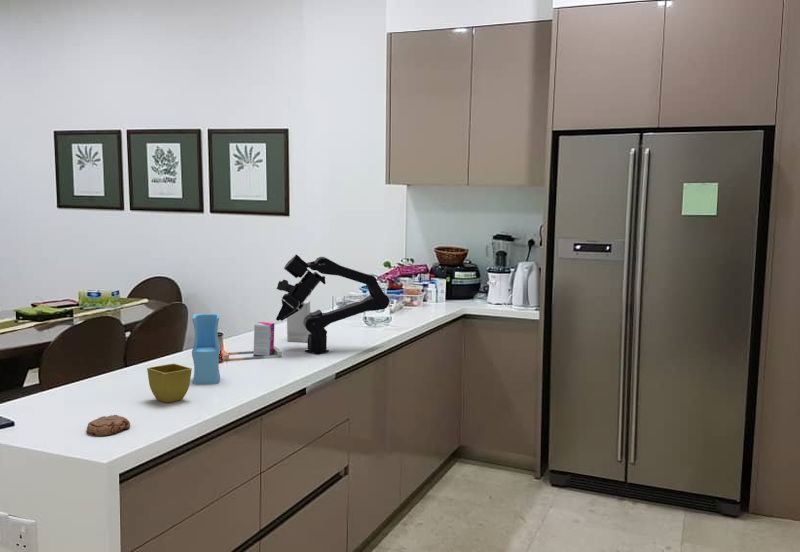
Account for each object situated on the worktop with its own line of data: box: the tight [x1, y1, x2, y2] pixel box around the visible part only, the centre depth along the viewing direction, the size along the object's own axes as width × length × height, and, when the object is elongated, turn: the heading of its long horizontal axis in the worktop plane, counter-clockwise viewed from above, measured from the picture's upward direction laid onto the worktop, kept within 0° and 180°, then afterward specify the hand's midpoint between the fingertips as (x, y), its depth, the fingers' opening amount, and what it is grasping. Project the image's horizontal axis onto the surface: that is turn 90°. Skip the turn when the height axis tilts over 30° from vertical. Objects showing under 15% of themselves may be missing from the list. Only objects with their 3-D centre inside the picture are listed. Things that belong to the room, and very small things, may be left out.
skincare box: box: [286, 300, 311, 343], centre depth 286 cm, size 8×7×16 cm
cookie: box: [86, 414, 131, 437], centre depth 176 cm, size 10×11×3 cm
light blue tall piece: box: [191, 313, 221, 385], centre depth 223 cm, size 8×8×20 cm
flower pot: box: [146, 363, 192, 404], centre depth 202 cm, size 9×9×9 cm
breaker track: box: [221, 345, 283, 362], centre depth 258 cm, size 20×10×2 cm, turn 114°
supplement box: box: [252, 321, 276, 357], centre depth 259 cm, size 6×6×12 cm
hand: (278, 320), depth 263 cm, fingers open, 9 cm apart
